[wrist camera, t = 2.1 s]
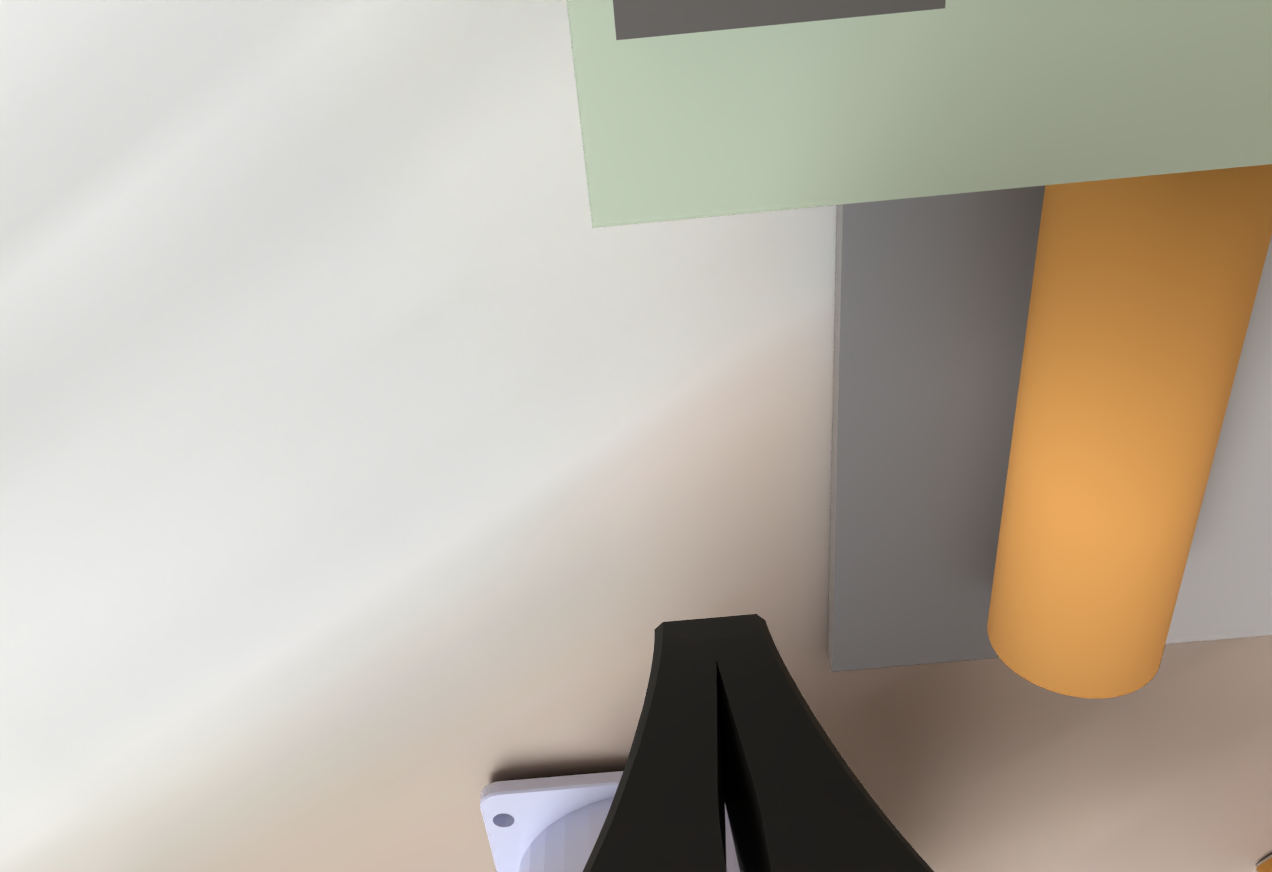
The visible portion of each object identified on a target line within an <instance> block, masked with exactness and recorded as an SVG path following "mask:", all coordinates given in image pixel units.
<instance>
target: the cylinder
mask: <svg viewBox="0 0 1272 872" xmlns="http://www.w3.org/2000/svg"><path fill="white" fill-rule="evenodd" d="M1271 236H1272V164H1267V165H1257V166H1246V167H1235V168H1225V169H1214V170H1203V171H1193V172H1182V173H1171V174H1161V175H1150V176H1139V177H1129V178H1118V179H1107V180H1097V181H1086V182H1075V183H1065V184H1054V185H1045V191H1044V199H1043V206H1042V214H1041V221H1040V229H1039V237H1038V244H1037V252H1036V259H1035V267H1034V275H1033V282H1032V290H1031V297H1030V305H1029V312H1028V320H1027V328H1026V335H1025V343H1024V350H1023V358H1022V366H1021V373H1020V381H1019V388H1018V396H1017V404H1016V411H1015V419H1014V426H1013V434H1012V441H1011V449H1010V457H1009V464H1008V472H1007V479H1006V487H1005V495H1004V502H1003V510H1002V517H1001V525H1000V532H999V540H998V548H997V555H996V563H995V570H994V578H993V586H992V593H991V601H990V608H989V616H988V624H987V631H988V636H989V640H990V643H991V645H992V647H993V649H994V650H995V652H996V654H997V655H998V656H999V657H1000V659H1001V660H1002V661H1003V662H1004V663H1005V664H1006V665H1007V666H1008V667H1009V668H1010V669H1012V670H1013V671H1014V672H1015V673H1017V674H1018V675H1020V676H1021V677H1023V678H1024V679H1026V680H1028V681H1029V682H1031V683H1033V684H1035V685H1037V686H1040V687H1042V688H1045V689H1047V690H1050V691H1053V692H1056V693H1060V694H1063V695H1068V696H1073V697H1080V698H1096V699H1099V698H1111V697H1117V696H1122V695H1125V694H1129V693H1131V692H1134V691H1136V690H1138V689H1140V688H1141V687H1143V686H1144V685H1146V684H1147V683H1148V682H1149V681H1150V680H1151V679H1152V678H1153V677H1154V676H1155V674H1156V673H1157V671H1158V668H1159V666H1160V662H1161V659H1162V655H1163V651H1164V647H1165V643H1166V639H1167V636H1168V632H1169V628H1170V624H1171V620H1172V616H1173V613H1174V609H1175V605H1176V601H1177V597H1178V593H1179V589H1180V586H1181V582H1182V578H1183V574H1184V570H1185V566H1186V563H1187V559H1188V555H1189V551H1190V547H1191V543H1192V540H1193V536H1194V532H1195V528H1196V524H1197V520H1198V516H1199V513H1200V509H1201V505H1202V501H1203V497H1204V493H1205V490H1206V486H1207V482H1208V478H1209V474H1210V470H1211V467H1212V463H1213V459H1214V455H1215V451H1216V447H1217V444H1218V440H1219V436H1220V432H1221V428H1222V424H1223V420H1224V417H1225V413H1226V409H1227V405H1228V401H1229V397H1230V394H1231V390H1232V386H1233V382H1234V378H1235V374H1236V371H1237V367H1238V363H1239V359H1240V355H1241V351H1242V347H1243V344H1244V340H1245V336H1246V332H1247V328H1248V324H1249V321H1250V317H1251V313H1252V309H1253V305H1254V301H1255V298H1256V294H1257V290H1258V286H1259V282H1260V278H1261V274H1262V271H1263V267H1264V263H1265V259H1266V255H1267V251H1268V248H1269V244H1270V240H1271Z"/></svg>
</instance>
